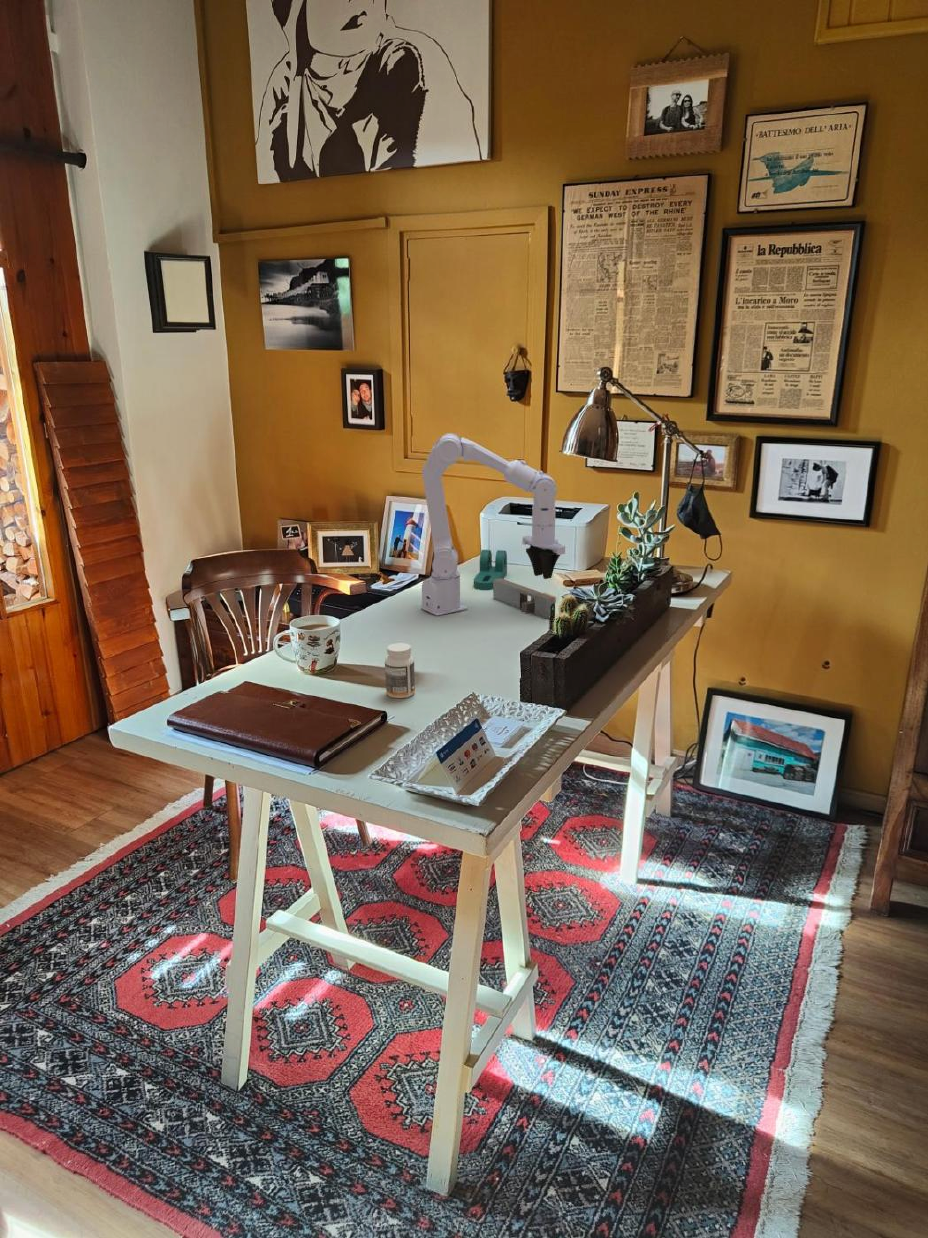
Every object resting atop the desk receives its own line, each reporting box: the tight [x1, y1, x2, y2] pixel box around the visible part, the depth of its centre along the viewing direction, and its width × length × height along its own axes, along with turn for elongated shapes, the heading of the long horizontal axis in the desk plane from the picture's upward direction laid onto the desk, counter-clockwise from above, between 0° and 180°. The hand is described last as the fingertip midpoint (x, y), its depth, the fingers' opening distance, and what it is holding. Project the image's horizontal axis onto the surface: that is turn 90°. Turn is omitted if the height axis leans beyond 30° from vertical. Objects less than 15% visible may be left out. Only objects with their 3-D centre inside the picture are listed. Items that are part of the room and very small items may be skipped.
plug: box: [521, 592, 557, 614], centre depth 227 cm, size 8×4×3 cm, turn 124°
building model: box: [492, 578, 554, 620], centre depth 228 cm, size 2×22×5 cm, turn 35°
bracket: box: [473, 549, 508, 591], centre depth 252 cm, size 18×7×8 cm, turn 167°
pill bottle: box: [384, 642, 416, 699], centre depth 175 cm, size 6×6×10 cm
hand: (542, 576), depth 226 cm, fingers open, 3 cm apart
